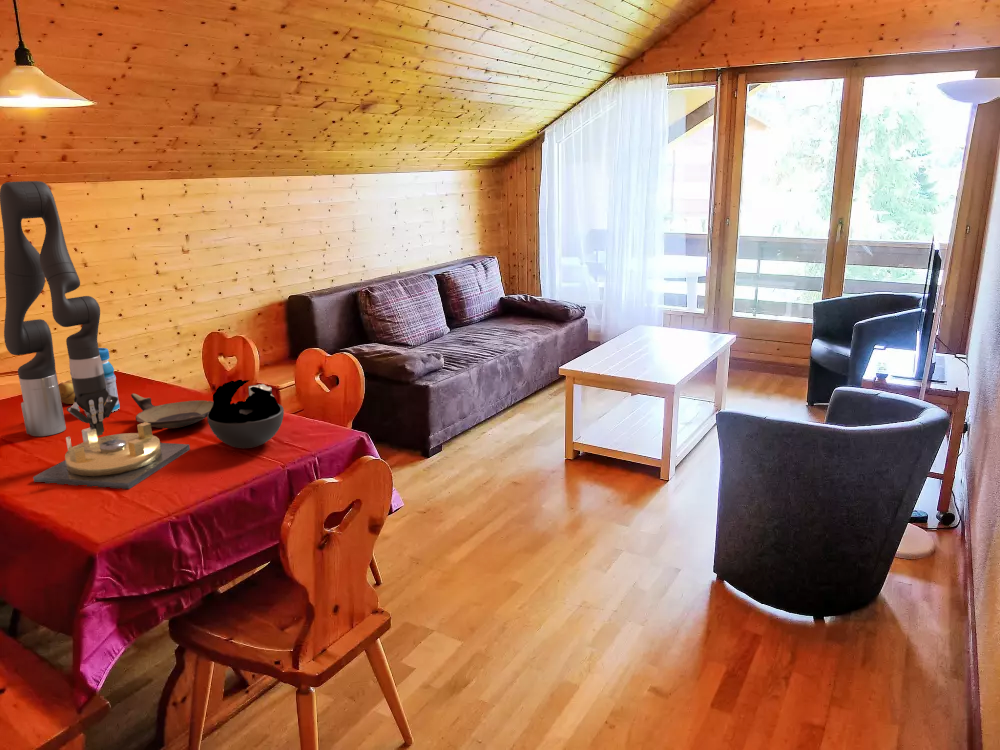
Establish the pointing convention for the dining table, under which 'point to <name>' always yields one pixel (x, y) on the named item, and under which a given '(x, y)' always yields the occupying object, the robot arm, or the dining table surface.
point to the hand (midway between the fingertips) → (98, 434)
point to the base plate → (118, 480)
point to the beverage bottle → (109, 376)
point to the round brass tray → (113, 452)
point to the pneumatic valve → (261, 388)
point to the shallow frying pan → (171, 412)
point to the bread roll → (67, 392)
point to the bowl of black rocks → (244, 416)
